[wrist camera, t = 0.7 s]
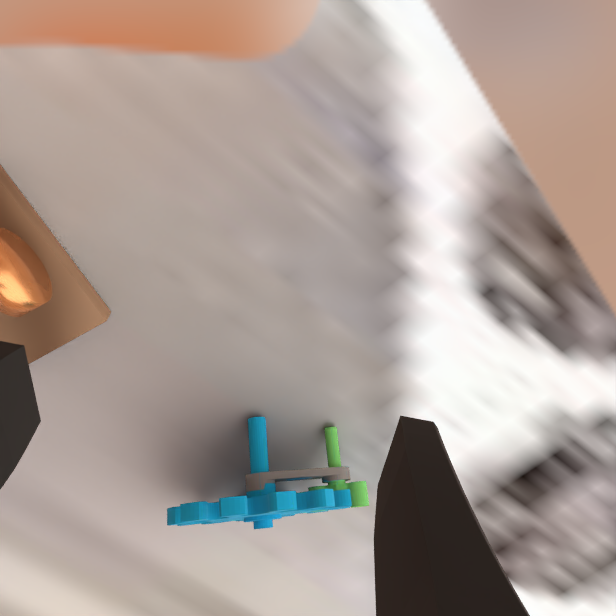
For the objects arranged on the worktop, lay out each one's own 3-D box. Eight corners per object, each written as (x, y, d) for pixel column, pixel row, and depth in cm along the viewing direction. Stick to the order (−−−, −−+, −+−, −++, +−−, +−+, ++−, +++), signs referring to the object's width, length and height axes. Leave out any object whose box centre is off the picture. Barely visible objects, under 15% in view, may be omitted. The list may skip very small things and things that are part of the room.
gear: (162, 539, 32) (175, 536, 23) (162, 438, 34) (174, 400, 25) (336, 521, 35) (405, 512, 26) (326, 430, 37) (387, 394, 29)
